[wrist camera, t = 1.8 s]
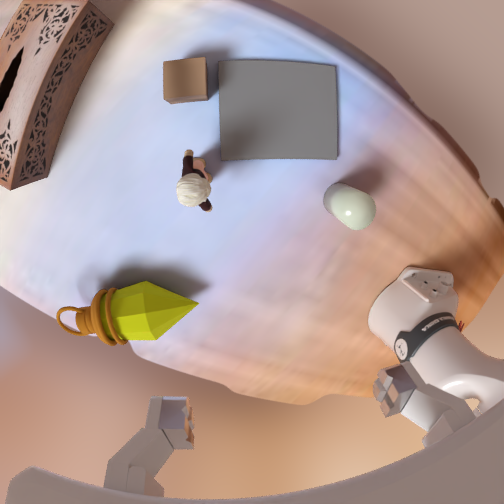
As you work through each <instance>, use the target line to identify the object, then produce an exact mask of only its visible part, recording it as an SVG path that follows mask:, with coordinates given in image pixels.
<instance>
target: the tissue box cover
mask: <svg viewBox="0 0 504 504" xmlns="http://www.w3.org/2000/svg"><path fill="white" fill-rule="evenodd" d="M113 26H114V24H113V23H112V22H111V21H110V20H109V19H108V18H107V17H106V16H105V15H104V14H103V13H102V12H101V11H100V10H98V9H97V8H96V7H95V6H94V5H93V4H92V3H91V2H90V1H88V0H23V1H22V3H21V4H20V6H19V7H18V9H17V11H16V12H15V14H14V16H13V17H12V19H11V21H10V22H9V24H8V26H7V28H6V30H5V32H4V33H3V35H2V37H1V39H0V185H1V186H3V187H5V188H7V189H8V190H10V191H11V190H13V189H16V188H18V187H21V186H24V185H27V184H29V183H32V182H35V181H38V180H41V179H44V178H47V177H48V173H49V170H50V166H51V162H52V159H53V156H54V152H55V149H56V146H57V143H58V140H59V137H60V134H61V131H62V128H63V126H64V123H65V120H66V118H67V115H68V113H69V110H70V108H71V105H72V103H73V101H74V98H75V96H76V94H77V92H78V89H79V87H80V85H81V83H82V81H83V79H84V77H85V75H86V73H87V71H88V69H89V67H90V65H91V63H92V61H93V59H94V58H95V56H96V54H97V52H98V51H99V49H100V47H101V45H102V44H103V42H104V40H105V39H106V37H107V35H108V34H109V32H110V31H111V29H112V28H113Z"/></svg>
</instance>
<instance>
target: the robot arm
mask: <svg viewBox="0 0 504 504" xmlns="http://www.w3.org/2000/svg"><path fill="white" fill-rule="evenodd" d="M453 283H454V280H453V275H452V274H451V273H450V272H446V271H439V270H431V269H423V268H415V267H407V268H405V269H404V270H403V272H402V273H401V274H400V276H399V277H398V278H397V280H396V281H394V282H393V283H392V284H391V285H389V286H388V287H387V288H386V289H385V290H384V291H383V292H382V293H381V294H380V295H379V296H378V298H377V299H376V300H375V302H374V304H373V306H372V308H371V310H370V313H369V319H368V324H369V328H370V330H371V332H372V333H373V334H375V335H376V336H377V337H379V338H380V339H381V340H382V341H383V343H384V344H385V345H386V346H388V347H389V348H390V349H391V350H392V351H393V352H394V353H395V354H396V355H397V357H398V359H399V361H400V363H401V364H396V365H393V366H390V367H387V368H383V369H381V370H380V371H379V372H378V377H379V378H378V379H377V380H376V381H375V382H374V385H373V393H374V396H375V398H376V400H378V401H379V402H381V405H380V408H381V410H382V412H383V414H384V415H385V417H389V416H392V415H394V414H397V413H400V412H401V414H403V415H404V416H405V417H407V418H408V419H410V420H411V421H413V422H414V423H416V424H417V425H419V426H420V427H421V428H423V429H424V430H426V431H427V432H428V433H427V434H426V435H425V436H424V438H423V439H422V443H423V445H424V446H425V449H423V450H421V451H418V452H416V453H414V454H412V455H410V456H408V457H406V458H403V459H401V460H399V461H396V462H394V463H392V464H389V465H387V466H384V467H381V468H379V469H376V470H374V471H371V472H368V473H365V474H362V475H359V476H356V477H353V478H349V479H346V480H343V481H339V482H336V483H332V484H328V485H324V486H319V487H315V488H311V489H306V490H301V491H296V492H290V493H284V494H277V495H270V496H261V497H251V498H240V499H239V498H238V499H180V498H179V499H178V498H165V497H164V488H163V487H162V486H161V485H160V484H159V483H158V482H157V481H156V480H155V479H154V477H155V475H156V474H157V473H158V471H159V470H160V469H161V468H162V466H163V465H164V463H165V462H166V461H167V459H168V458H169V456H170V455H171V454H172V452H173V451H174V449H194V435H193V432H192V430H193V428H194V413H193V409H192V407H190V401H189V398H188V397H165V396H164V397H163V396H152V397H151V398H150V401H149V407H148V413H147V419H146V426H145V428H141V429H140V430H139V431H138V432H137V433H136V434H135V435H134V436H133V437H132V438H131V439H130V440H129V441H128V442H127V443H126V444H125V445H124V446H123V447H122V448H121V449H120V450H119V451H118V452H117V453H116V454H115V455H114V456H113V457H112V458H111V459H110V460H109V461H108V465H107V470H106V476H105V482H104V487H99V486H95V485H92V484H88V483H84V482H81V481H77V480H74V479H71V478H68V477H65V476H62V475H59V474H56V473H53V472H51V471H48V470H45V469H42V468H40V467H37V466H30V467H28V468H26V469H25V470H23V471H22V472H20V473H19V474H17V475H16V476H15V477H14V478H12V480H11V481H10V484H9V487H8V492H7V497H6V502H5V504H504V359H497V358H494V357H491V356H488V355H486V354H485V353H483V352H481V351H480V350H479V349H478V348H477V347H476V346H474V345H473V344H472V343H471V342H470V341H469V340H468V339H467V338H466V337H465V336H464V335H463V334H462V333H461V331H462V328H463V326H464V323H463V325H462V327H461V324H462V321H460V323H459V326H458V325H457V323H456V320H455V316H456V312H457V308H458V295H457V293H456V291H455V290H454V289H453ZM469 398H475V399H478V400H479V401H480V403H479V405H478V406H477V407H478V409H479V410H480V412H481V413H482V415H481V413H480V412H479V410H478V409H477V408H476V409H475V410H474V411H473V412H472V410H471V409H470V407H469V406H468V405H467V403H466V402H465V399H469Z"/></svg>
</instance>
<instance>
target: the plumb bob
mask: <svg viewBox="0 0 504 504" xmlns="http://www.w3.org/2000/svg"><path fill="white" fill-rule="evenodd" d="M198 304H199V303H198V302H195V301H193V300H190V299H188V298H185V297H183V296H180V295H178V294H176V293H173V292H171V291H168V290H166V289H164V288H161V287H159V286H157V285H154V284H152V283H150V282H147V281H143V282H140V283H137V284H134V285H131V286H128V287H125V288H122V289H119V290H118V289H117V288H110V289H109V291H107V290H105V289H102V290H100V291H99V292H98V293H97V294H96V295H95V296H94V298H93V300H92V303H91V306H89V307H81V308H76V307H71V306H67V307H63V308H61V309H59V311H58V312H57V316H56V317H57V321H58V323H59V325H60V326H61V327H62V328H63V329H64V330H66V331H67V332H69V333H71V334H74V335H78V336H85V335H88V334H93V333H96V334H97V336H98V337H99V338H100V339H101V340H102V341H103V342H104V343H106V344H108V345H110V346H115V345H116V344H117V343H119V344H121V345H124V344H126V343H127V342H128V340H157V339H158V338H159V337H160V336H162V335H163V334H164V333H165V332H166V331H167V330H169V329H170V328H171V327H172V326H173V325H174V324H176V323H177V322H178V321H179V320H180V319H182V318H183V317H184V316H185V315H186V314H187V313H189V312H190V311H191V310H192V309H193V308H194V307H196V306H197V305H198ZM67 310H72V311H76V312H77V313H76V325H77V327H78V329H79V330H80V331H81V332H76V331H72V330H70V329H68V328H67V327H66V326H64V325H63V323H62V322H61V320H60V314H61V313H62V312H63V311H67Z"/></svg>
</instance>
